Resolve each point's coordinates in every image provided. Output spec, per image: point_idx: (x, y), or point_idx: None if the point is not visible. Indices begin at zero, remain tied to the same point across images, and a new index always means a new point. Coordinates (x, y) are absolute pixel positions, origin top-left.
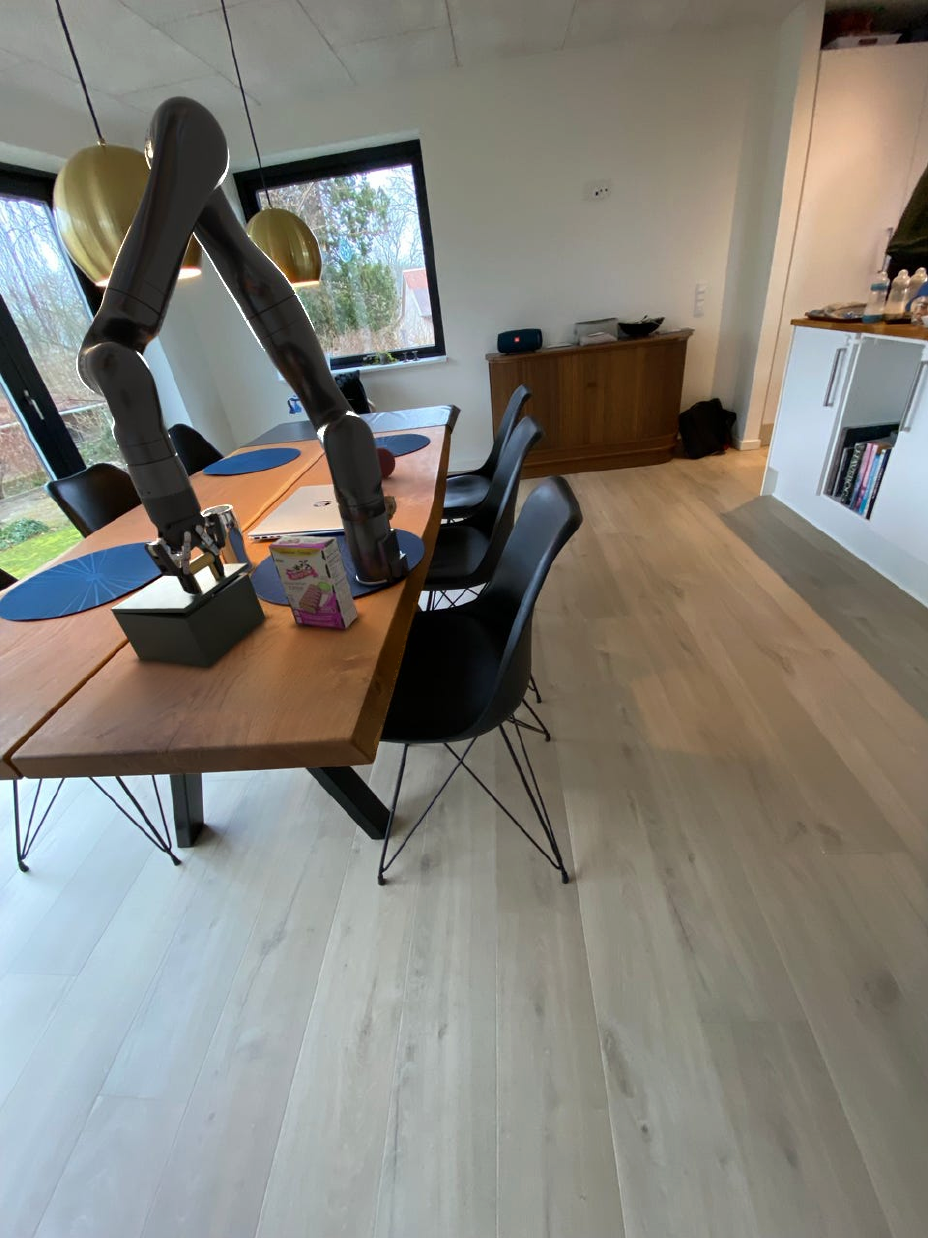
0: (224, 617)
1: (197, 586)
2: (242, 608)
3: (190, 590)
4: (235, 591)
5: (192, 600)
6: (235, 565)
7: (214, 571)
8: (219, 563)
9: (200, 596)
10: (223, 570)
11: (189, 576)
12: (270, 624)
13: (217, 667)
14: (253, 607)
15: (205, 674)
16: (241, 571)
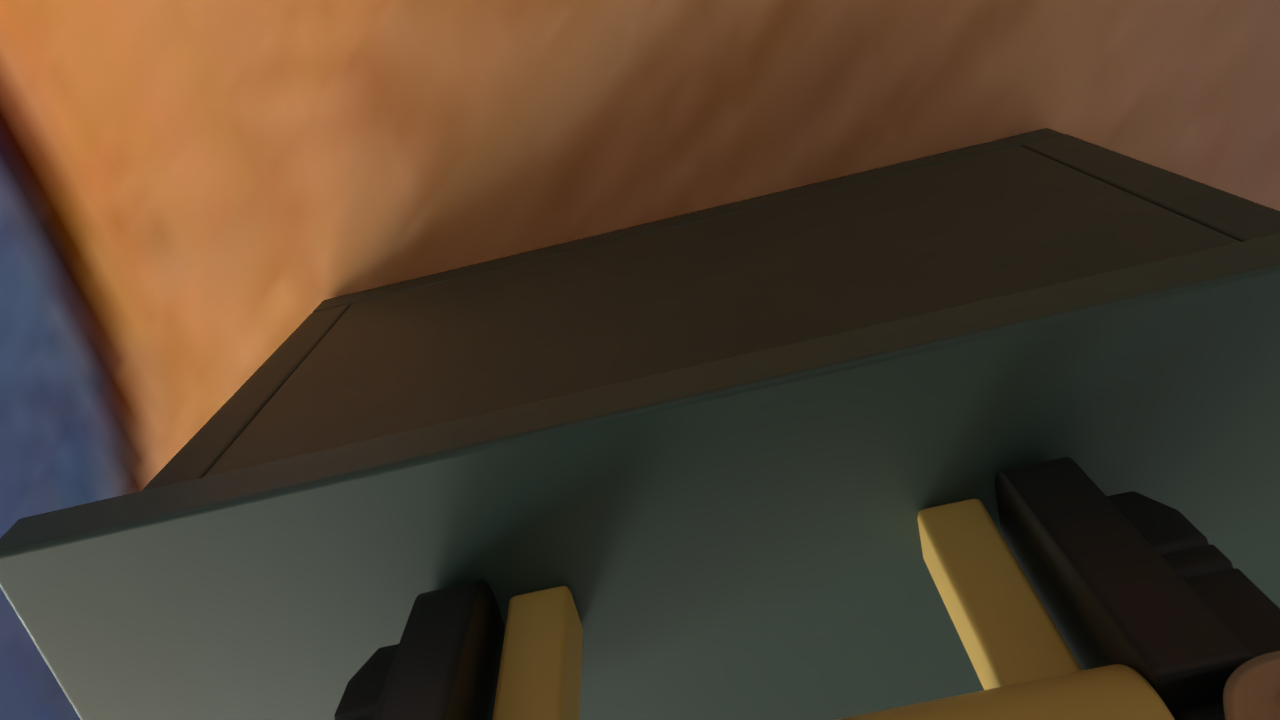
0: (742, 282)
1: (1033, 502)
2: (484, 327)
3: (1157, 513)
4: (448, 408)
5: (1254, 318)
6: (141, 697)
7: (548, 673)
8: (395, 716)
9: (1115, 307)
10: (408, 621)
11: (1218, 628)
12: (367, 172)
13: (1019, 65)
14: (364, 333)
15: (1123, 79)
16: (190, 485)
